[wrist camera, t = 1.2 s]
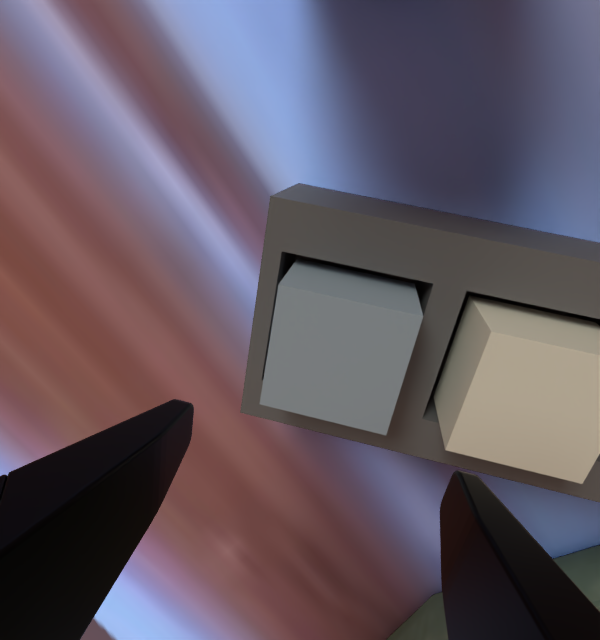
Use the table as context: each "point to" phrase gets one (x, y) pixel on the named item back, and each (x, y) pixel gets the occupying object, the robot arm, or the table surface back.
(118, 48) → the table surface
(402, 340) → the slate blue key
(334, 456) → the table surface
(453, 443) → the white key
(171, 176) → the table surface
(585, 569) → the tea set
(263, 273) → the keypad
